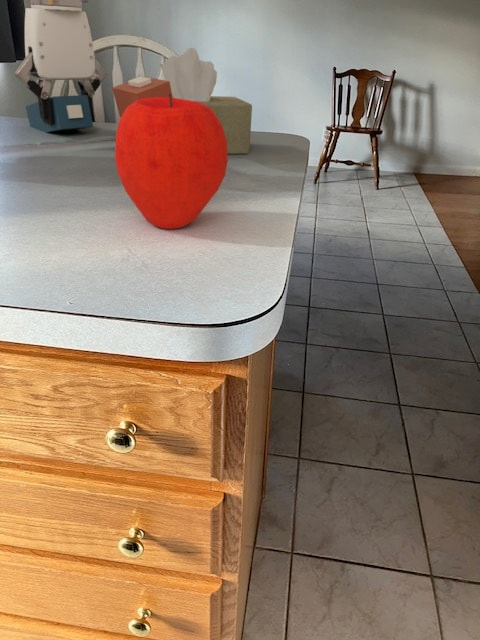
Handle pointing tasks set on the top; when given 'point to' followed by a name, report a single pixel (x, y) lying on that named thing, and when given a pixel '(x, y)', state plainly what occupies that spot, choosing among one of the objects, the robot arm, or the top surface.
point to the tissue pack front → (139, 91)
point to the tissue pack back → (63, 114)
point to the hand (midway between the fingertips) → (67, 121)
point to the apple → (170, 158)
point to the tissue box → (210, 97)
